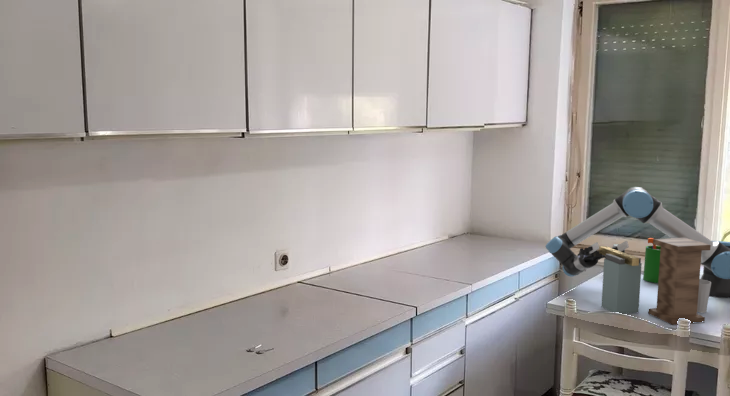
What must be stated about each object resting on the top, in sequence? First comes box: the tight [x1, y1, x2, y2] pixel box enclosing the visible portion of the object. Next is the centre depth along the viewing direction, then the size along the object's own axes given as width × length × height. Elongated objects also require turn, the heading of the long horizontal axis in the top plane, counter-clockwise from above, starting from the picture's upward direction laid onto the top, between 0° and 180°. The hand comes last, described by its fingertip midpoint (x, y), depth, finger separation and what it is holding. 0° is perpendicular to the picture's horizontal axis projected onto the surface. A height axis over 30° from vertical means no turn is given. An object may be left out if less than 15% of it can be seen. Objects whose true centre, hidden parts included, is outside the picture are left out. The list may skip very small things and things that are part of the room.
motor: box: [642, 237, 661, 284], centre depth 305 cm, size 10×9×20 cm
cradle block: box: [600, 252, 643, 314], centre depth 259 cm, size 10×10×22 cm
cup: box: [697, 278, 711, 314], centre depth 259 cm, size 8×8×12 cm
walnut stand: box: [648, 237, 711, 326], centre depth 249 cm, size 14×14×30 cm
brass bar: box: [598, 245, 640, 266], centre depth 261 cm, size 22×3×3 cm, turn 13°
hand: (612, 244), depth 264 cm, fingers open, 13 cm apart
